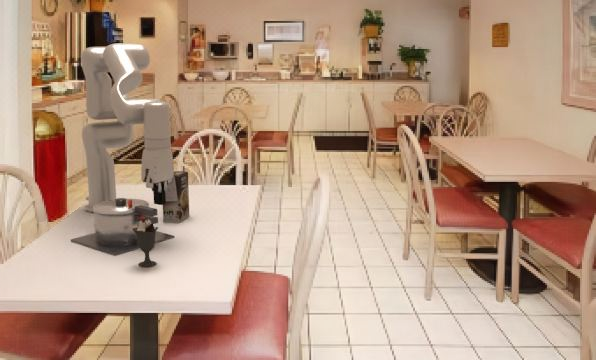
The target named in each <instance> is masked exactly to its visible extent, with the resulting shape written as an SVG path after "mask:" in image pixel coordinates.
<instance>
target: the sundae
mask: <svg viewBox="0 0 596 360" xmlns="http://www.w3.org/2000/svg"><path fill="white" fill-rule="evenodd" d="M138 211H139V212H140V210H138ZM140 213H141V212H140ZM141 214H142V213H141ZM158 229H159V227H158V226H156V225H155V224H153V223H151V221H150V220H149V219H146V218H145V217H143V215H142V217H141V218H140V222H139V223H138V224H137V227H136V228H133V231H134V232H135V233H136V236H137V241H138V245H139V250H140V251H142V252H143V253H144V260H143V261H141V262H139V263H138V265H137V266H138V267H139V268H152V267H155V266H156V265H157V264H158V263H157V261H154V260H151V258H150V252H151V251H153V249H154V248H155V244H156V243H155V235H156V231H158Z"/></svg>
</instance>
